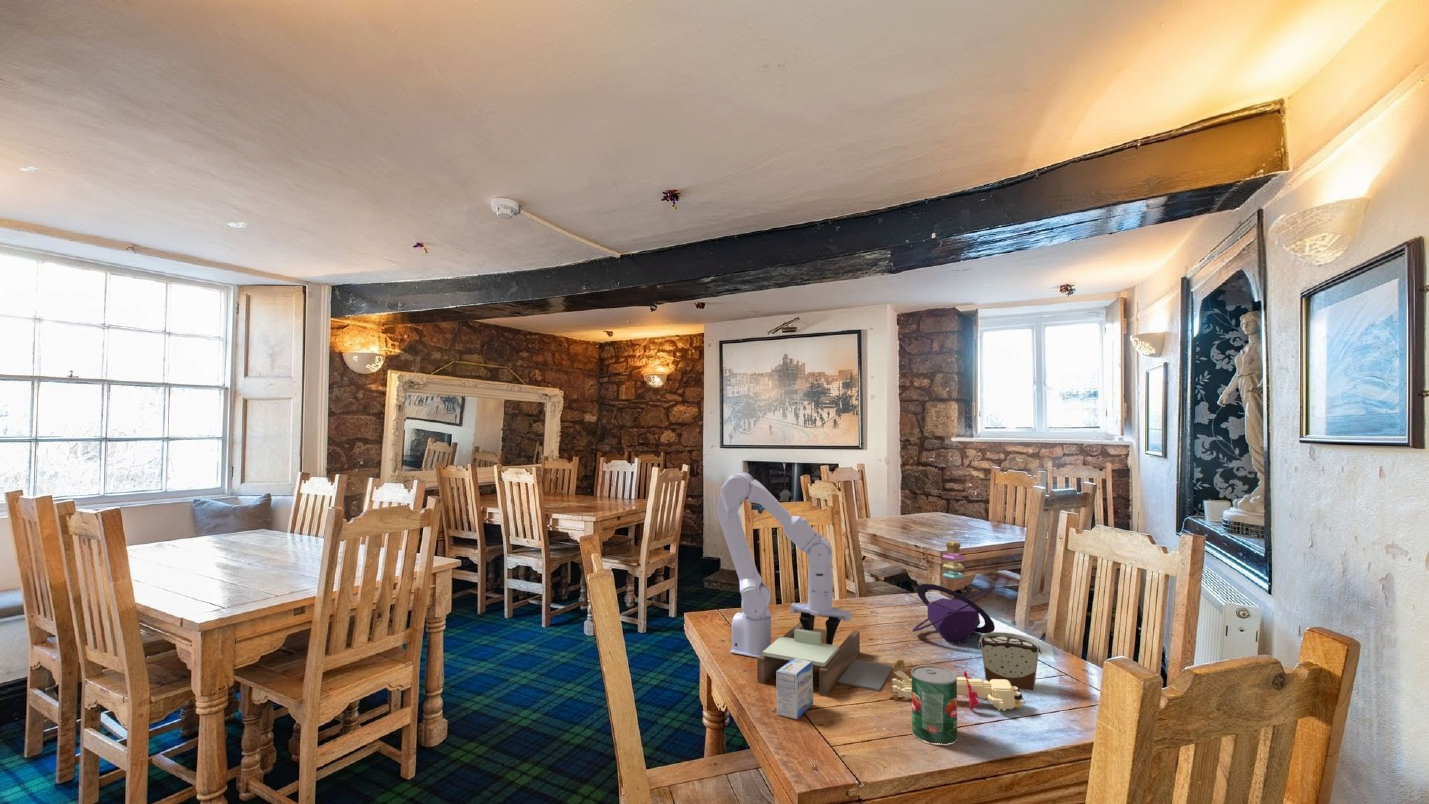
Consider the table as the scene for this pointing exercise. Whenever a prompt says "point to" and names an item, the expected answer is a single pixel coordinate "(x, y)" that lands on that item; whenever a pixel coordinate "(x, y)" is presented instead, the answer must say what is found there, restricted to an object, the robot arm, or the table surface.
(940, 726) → the canned tomato
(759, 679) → the brown wooden frame
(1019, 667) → the food container
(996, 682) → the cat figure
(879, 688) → the mat
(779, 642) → the cover
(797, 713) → the medicine box
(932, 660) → the table surface
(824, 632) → the block
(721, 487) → the robot arm
